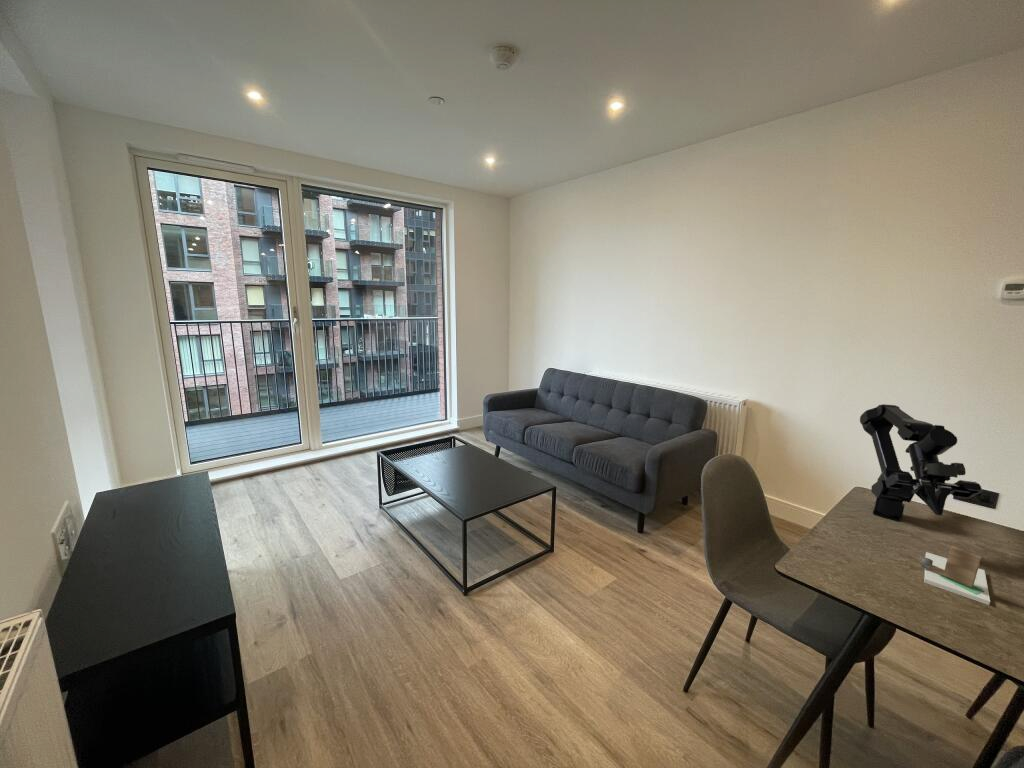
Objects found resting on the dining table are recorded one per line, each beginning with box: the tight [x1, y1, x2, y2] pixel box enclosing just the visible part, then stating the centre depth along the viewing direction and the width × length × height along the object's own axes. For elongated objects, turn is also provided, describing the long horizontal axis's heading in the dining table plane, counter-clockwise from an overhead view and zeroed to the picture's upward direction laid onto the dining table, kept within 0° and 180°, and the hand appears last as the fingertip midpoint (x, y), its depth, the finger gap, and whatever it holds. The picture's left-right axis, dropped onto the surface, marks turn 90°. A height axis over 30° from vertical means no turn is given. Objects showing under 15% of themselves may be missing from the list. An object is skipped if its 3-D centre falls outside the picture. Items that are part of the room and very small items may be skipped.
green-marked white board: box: [923, 551, 991, 606], centre depth 105 cm, size 11×16×1 cm
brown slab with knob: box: [920, 545, 985, 592], centre depth 102 cm, size 12×2×8 cm, turn 27°
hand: (939, 515), depth 111 cm, fingers closed
